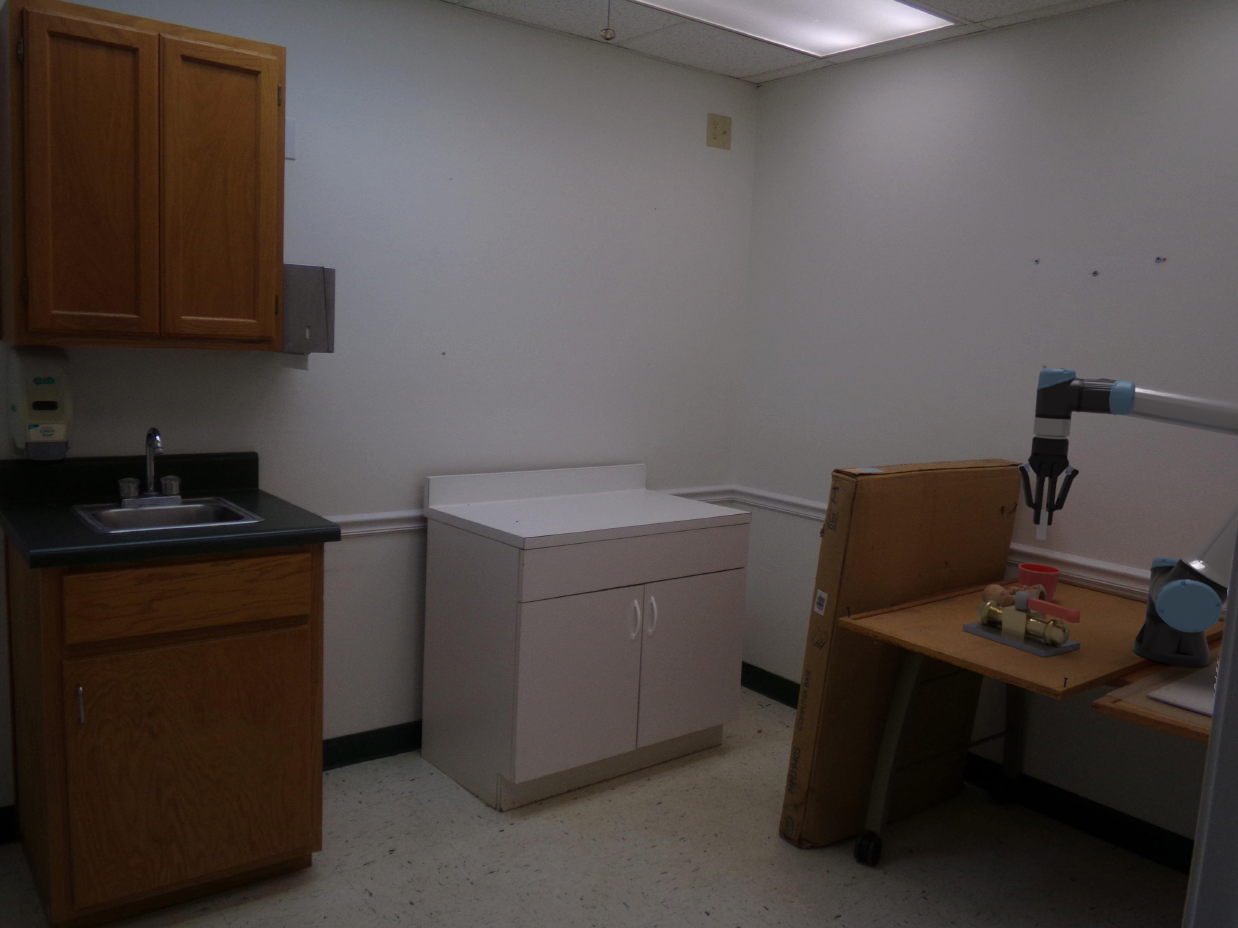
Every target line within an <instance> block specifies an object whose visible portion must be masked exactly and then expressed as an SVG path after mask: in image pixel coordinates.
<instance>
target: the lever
mask: <svg viewBox="0 0 1238 928" xmlns="http://www.w3.org/2000/svg"><path fill="white" fill-rule="evenodd" d="M1015 608H1017V609H1021V610H1034V611H1037V612H1041V613H1044V614H1046V616H1047V615H1048V616H1050V617H1053V618H1056V619H1060V620H1065V621H1067V622H1068V623H1073V624H1079V623H1080V620H1081V619H1080V617H1081V610H1080V609H1076V608H1071V607H1067V606H1064V605H1060V604H1057V603H1054V602H1051V603H1050V602H1046V601H1043V600H1039V599H1036V598H1032V594H1031V593H1028V592H1016V599H1015Z"/></svg>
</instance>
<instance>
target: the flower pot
mask: <svg viewBox="0 0 1238 928" xmlns="http://www.w3.org/2000/svg"><path fill="white" fill-rule="evenodd" d="M1060 576H1061V570H1060V569H1059V568H1057V567H1054V566H1051V565H1046V564H1041V563H1040V564H1039V563H1021V564H1018V580H1019V586H1021V585H1026V586H1028V587H1030V586H1034V585H1039V584H1040V585H1042V586H1043V587H1044V588H1045V591H1046V595H1047V602H1050V603H1053V602H1052V601H1053V598H1054V595H1055V593H1056V589H1057V586H1058V583H1059V579H1060Z"/></svg>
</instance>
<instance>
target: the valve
mask: <svg viewBox="0 0 1238 928" xmlns="http://www.w3.org/2000/svg"><path fill="white" fill-rule="evenodd" d="M975 614H976V618H978V619H979V620H980V621H979V620H978V621H975V622H969V623H964V624H962V631H964V632H967V633H968V634H969V633H970V634H973V635H976V636H979V637H982V638H984V639H987V638H988V639H987V640H990V639H991V641H994V642H996V641H997V643H1000V644H1002V643H1003V645H1006V646H1009V647H1012V648H1014V649H1018V650H1021V651H1024V652H1027V653H1030V654H1032V655H1036V656H1038V657H1043V658H1048V657H1051V656H1055V655H1060V654H1064V653H1068V652H1071V651H1072V652H1073V651H1077V650H1080V649H1081V642H1079V641H1077V640H1073V639H1069V638H1070V635H1071V631H1070V627H1068V626H1066V625H1065V623H1064V622H1063V620H1062V619H1060V618H1056V617H1053V618H1051V619H1049V620H1047V619H1045V620H1044V619H1041V612H1037V611H1034V610H1021V609H1017V608H1015V605H1014V606H1009V607H1004V608H1003V607H1000V604H999V603H998V602H996V601H993V600H988V601H987V602H983V601H982V602H980V603H979V604H978V606H977V607H976V613H975Z"/></svg>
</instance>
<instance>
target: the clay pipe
mask: <svg viewBox="0 0 1238 928" xmlns="http://www.w3.org/2000/svg"><path fill="white" fill-rule="evenodd" d="M1016 592H1028V593H1031V594H1032V598H1036V599H1039V600H1043V601H1046V602H1047V595H1046V591H1045V588H1044V587H1043V586H1042V585H1040V584H1039V585H1034V586H1030V587H1028V586H1026V585H1021V586H1020V585H1018V586H1015V585H1013V586H1009V587H1007V589H1005V588H1004V587H1003V586H1001V585H1000V584H996V583H994V584H990V585H987V586H986V587H985V588H984V589H983V591H982V594H981V599H982V602H987V601H988V600H993V601H996V602H998V603H999V604H1000V607H1003V608H1004V607H1009V606H1014V605H1015V599H1016ZM1046 616H1047V614H1044V613H1041V619H1044V620H1046Z"/></svg>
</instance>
